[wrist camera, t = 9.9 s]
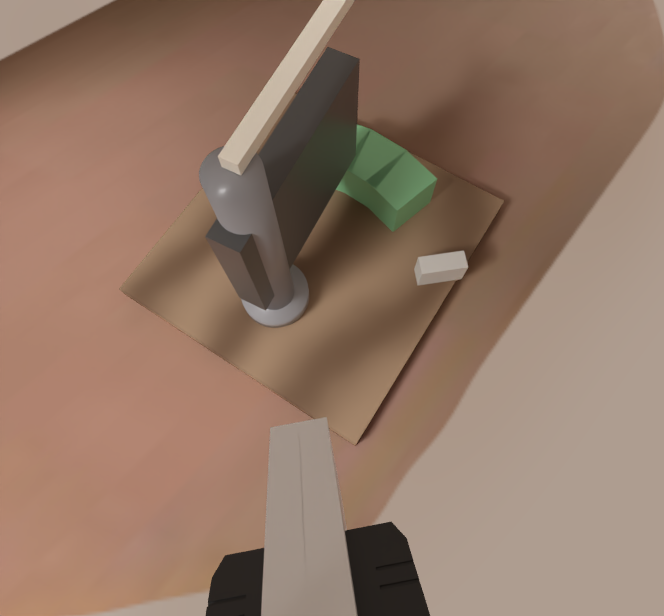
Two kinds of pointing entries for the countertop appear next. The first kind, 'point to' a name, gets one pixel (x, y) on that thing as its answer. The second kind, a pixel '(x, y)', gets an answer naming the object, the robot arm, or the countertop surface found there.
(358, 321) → the brown square base board
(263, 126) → the signpost stand
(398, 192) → the gauge marks
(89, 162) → the countertop surface
